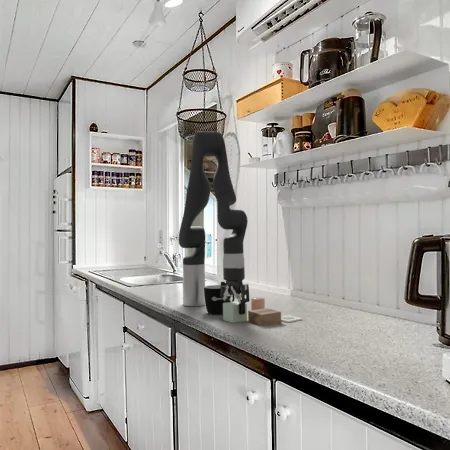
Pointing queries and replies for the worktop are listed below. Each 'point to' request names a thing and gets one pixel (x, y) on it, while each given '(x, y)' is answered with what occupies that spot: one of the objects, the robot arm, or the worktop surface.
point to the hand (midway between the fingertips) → (234, 312)
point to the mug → (214, 299)
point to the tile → (290, 318)
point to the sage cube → (233, 312)
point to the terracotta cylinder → (257, 303)
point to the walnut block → (264, 317)
